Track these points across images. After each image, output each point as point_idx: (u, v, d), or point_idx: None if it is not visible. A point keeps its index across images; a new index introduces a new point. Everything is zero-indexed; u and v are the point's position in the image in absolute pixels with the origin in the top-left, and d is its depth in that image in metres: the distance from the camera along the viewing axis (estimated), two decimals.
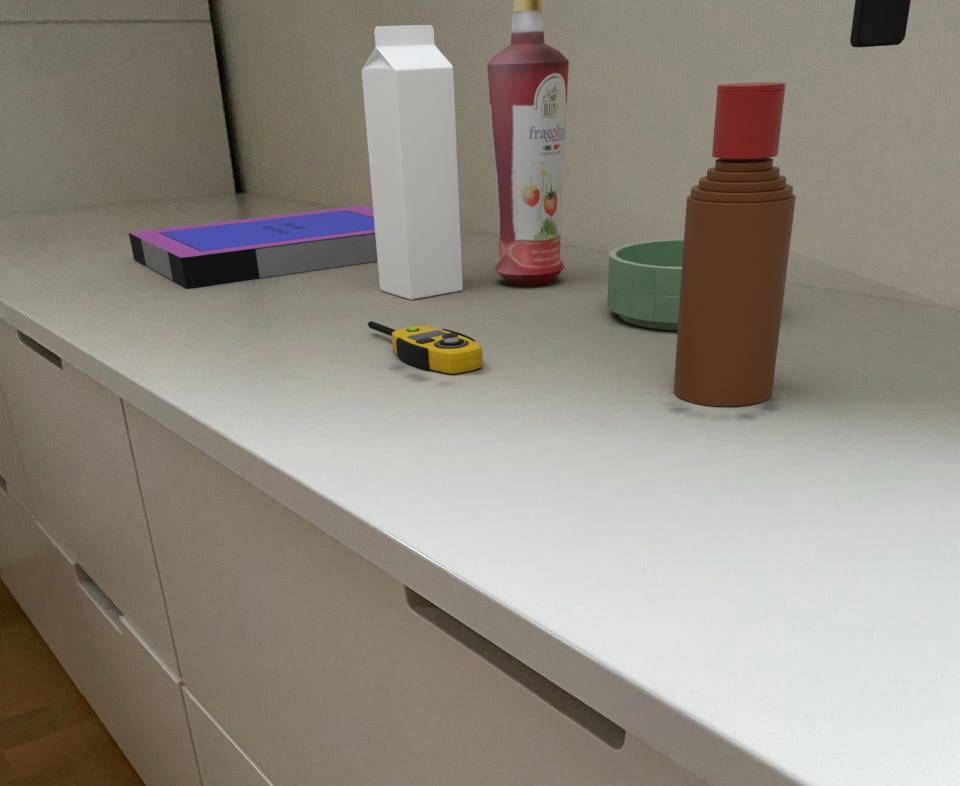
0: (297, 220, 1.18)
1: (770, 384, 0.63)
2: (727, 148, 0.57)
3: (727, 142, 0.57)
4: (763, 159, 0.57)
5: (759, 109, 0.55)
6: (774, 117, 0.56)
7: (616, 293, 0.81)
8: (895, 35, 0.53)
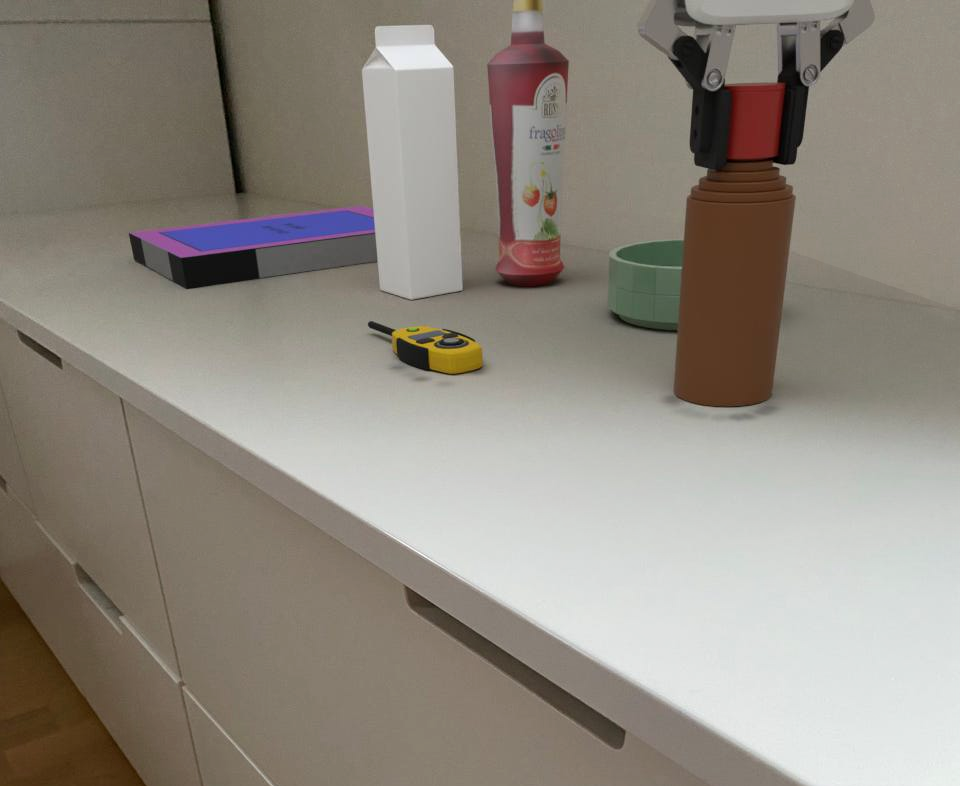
0: (297, 220, 1.18)
1: (770, 384, 0.63)
2: None
3: None
4: (763, 159, 0.57)
5: (759, 109, 0.55)
6: (774, 117, 0.56)
7: (616, 293, 0.81)
8: None
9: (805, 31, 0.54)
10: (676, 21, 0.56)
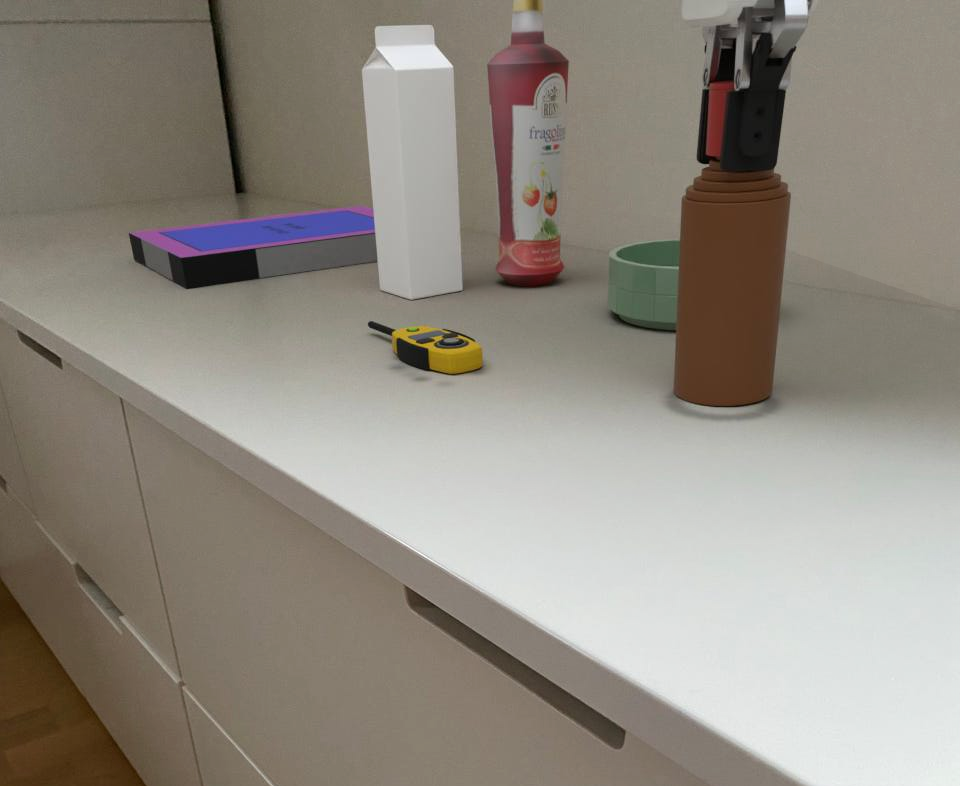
0: (297, 220, 1.18)
1: (770, 382, 0.63)
2: None
3: None
4: None
5: None
6: None
7: (616, 293, 0.81)
8: None
9: None
10: None
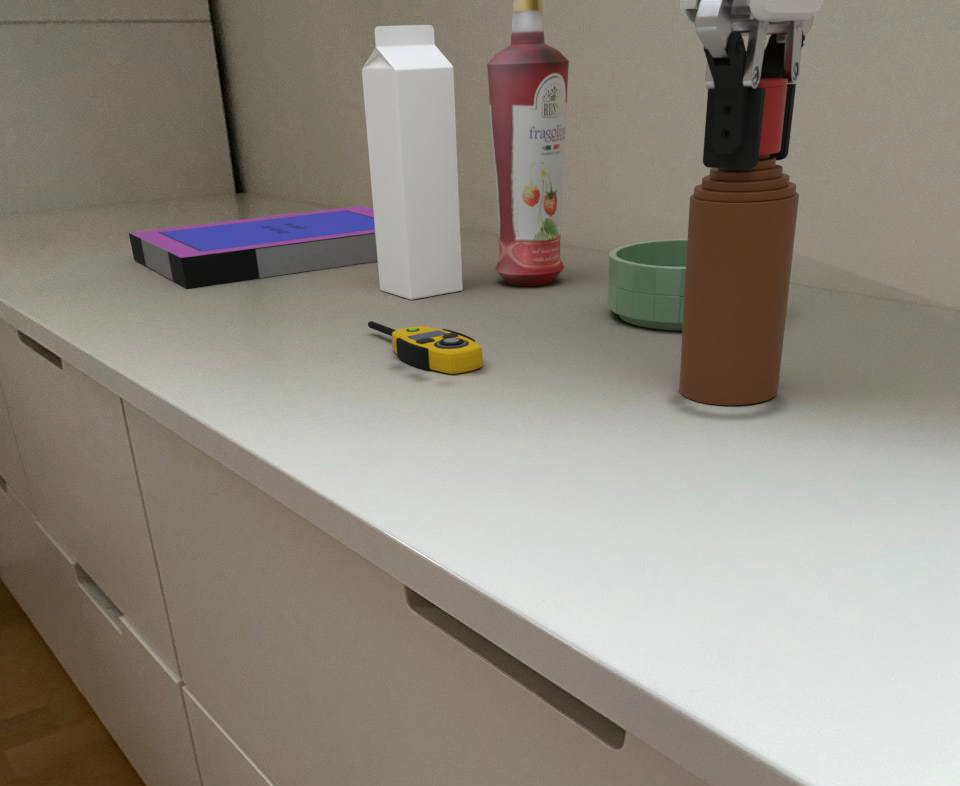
0: (297, 220, 1.18)
1: (776, 382, 0.63)
2: (781, 140, 0.57)
3: (781, 134, 0.57)
4: (766, 158, 0.57)
5: None
6: None
7: (616, 293, 0.81)
8: None
9: (796, 30, 0.56)
10: (692, 18, 0.53)
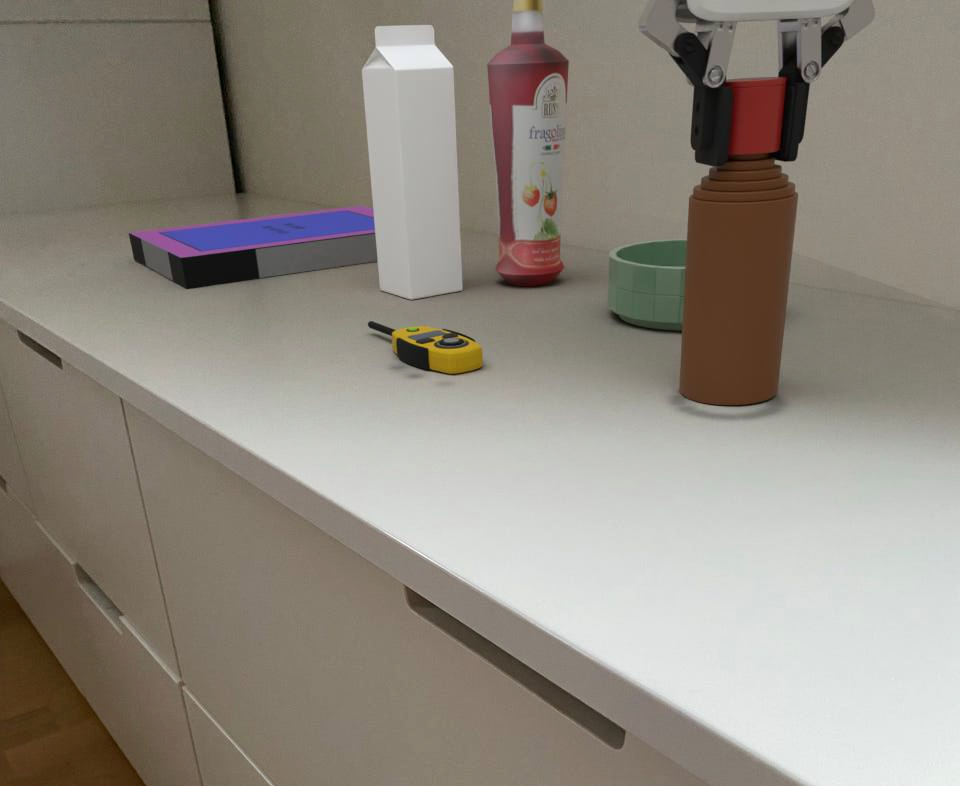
0: (297, 220, 1.18)
1: (776, 382, 0.63)
2: None
3: None
4: (765, 157, 0.57)
5: None
6: None
7: (616, 293, 0.81)
8: None
9: (806, 27, 0.54)
10: (677, 18, 0.56)
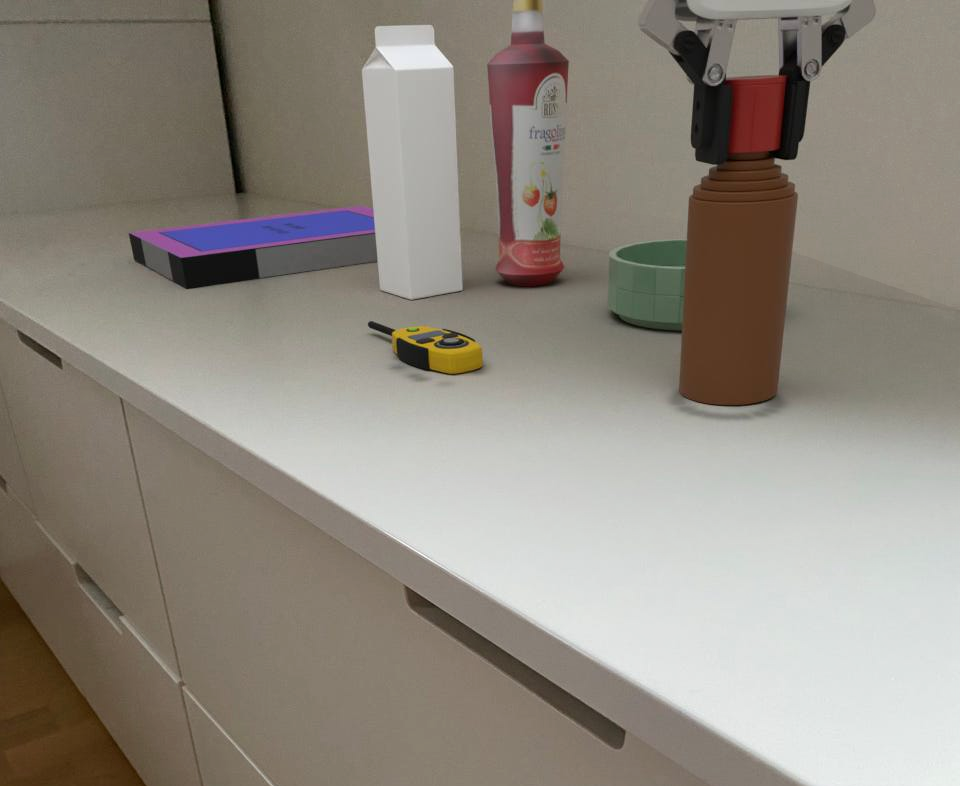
0: (297, 220, 1.18)
1: (776, 381, 0.63)
2: None
3: None
4: (765, 157, 0.57)
5: None
6: None
7: (616, 293, 0.81)
8: None
9: (806, 26, 0.54)
10: (677, 16, 0.56)
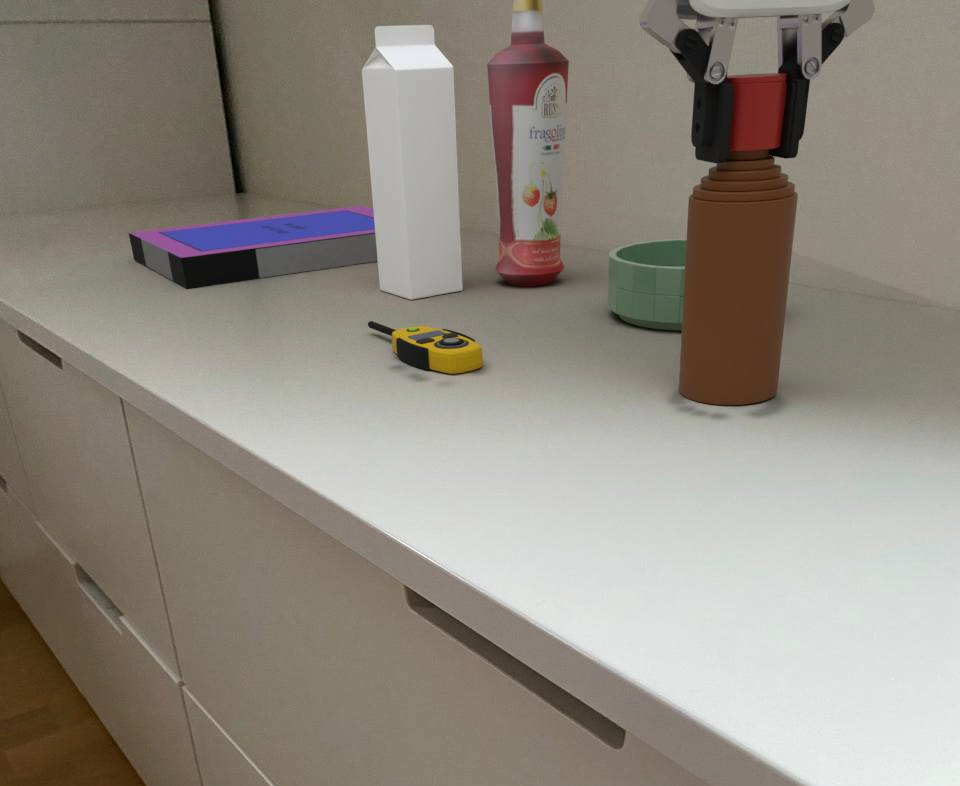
0: (297, 220, 1.18)
1: (775, 381, 0.64)
2: None
3: None
4: (765, 157, 0.57)
5: (747, 101, 0.55)
6: (766, 109, 0.55)
7: (616, 293, 0.81)
8: None
9: (807, 24, 0.54)
10: (677, 14, 0.55)
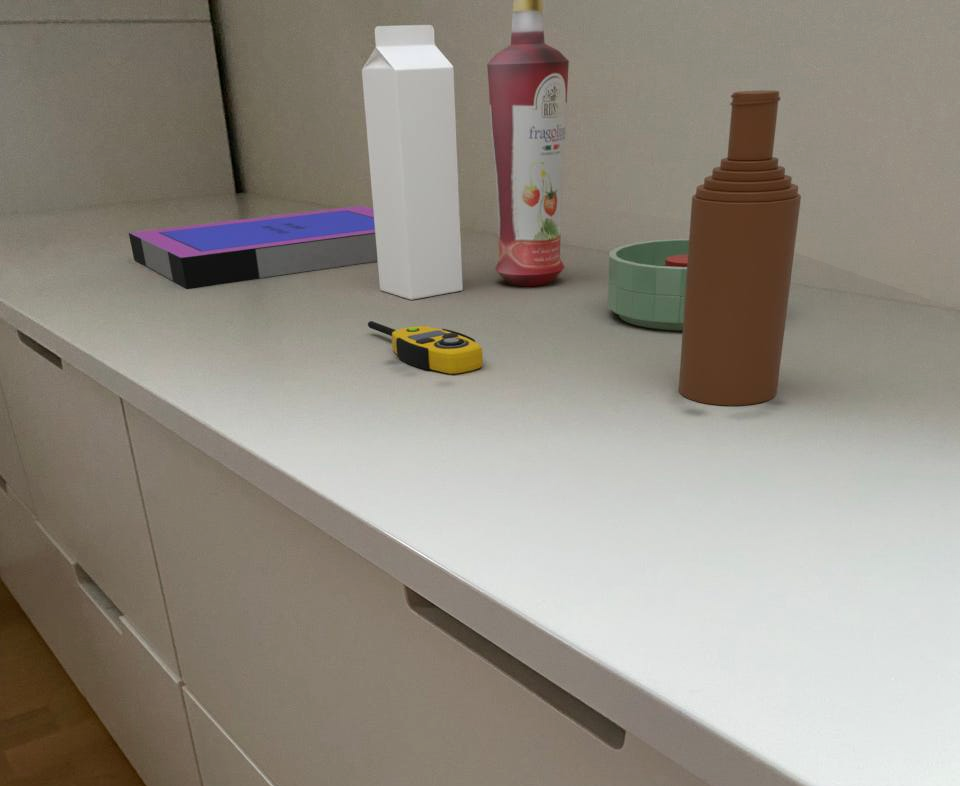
0: (297, 220, 1.18)
1: (775, 383, 0.64)
2: None
3: None
4: (769, 158, 0.58)
5: None
6: None
7: (616, 293, 0.81)
8: None
9: None
10: None
